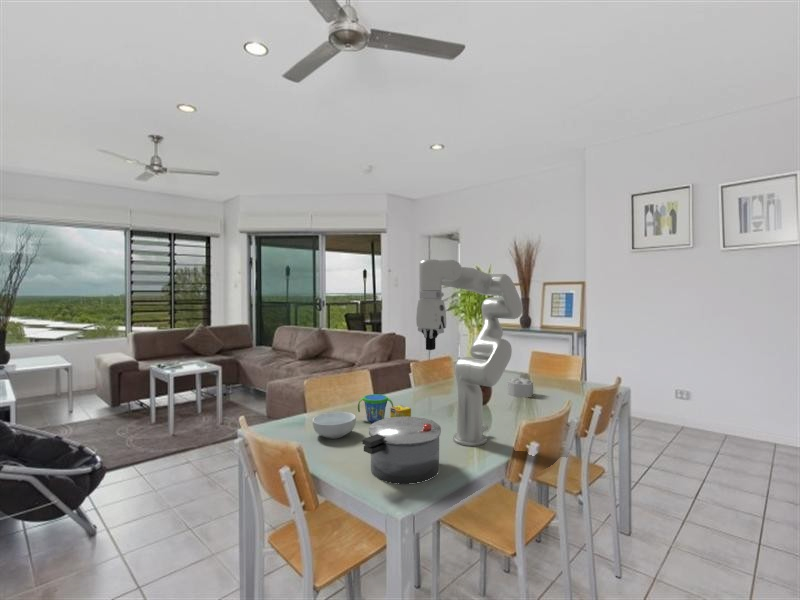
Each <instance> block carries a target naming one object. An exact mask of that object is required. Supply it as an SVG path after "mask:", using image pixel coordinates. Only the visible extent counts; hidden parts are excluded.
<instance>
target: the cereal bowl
mask: <svg viewBox="0 0 800 600" xmlns="http://www.w3.org/2000/svg"><path fill="white" fill-rule="evenodd" d="M356 421H357V417H356V415H355V414H354V413H351V412H346V411H329V412H325V413H321V414H318V415H316V416H314V417H313V418H312V428H313V429H314V431H315V433H316V434H318V435H319V436H321V437H325V438H326V439H332V440H333V439H340V438H344V436H345V435H347V434H349V433H351V432H352V431H353V430H354V428H355V426H356Z"/></svg>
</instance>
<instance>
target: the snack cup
mask: <svg viewBox="0 0 800 600" xmlns="http://www.w3.org/2000/svg"><path fill="white" fill-rule="evenodd" d="M361 401H363V402H364V408H365V415H366V420H367V421H369V423H371V422H372V423H374V422H376V421H379V420H382V419H385V415H386V407H387V405H388V401H389V403H390V404H391V407H394V403H393V401H392V399H391V398H389V397H388V396H387V395H386V394H379V393H378V394H377V393H376V394H367V395H364V396H363V397H362V398H361V399H359V401H358V403H357V412H358V413H360V412H361V409H360V408H361V407H360V403H361Z"/></svg>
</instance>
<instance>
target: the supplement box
mask: <svg viewBox="0 0 800 600" xmlns="http://www.w3.org/2000/svg"><path fill="white" fill-rule="evenodd" d="M389 415H390V417H389V418H392V417H412V408H411V407H408V406H405V405H402V404H399V405H395V406H393V407H392V406H391V407H390V414H389Z"/></svg>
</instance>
